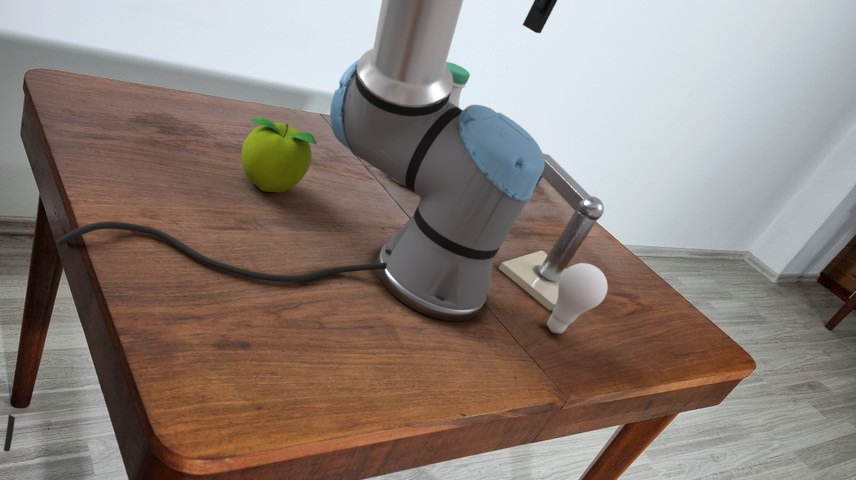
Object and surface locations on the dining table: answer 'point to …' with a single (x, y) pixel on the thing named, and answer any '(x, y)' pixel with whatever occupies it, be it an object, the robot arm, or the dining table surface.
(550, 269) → the spout
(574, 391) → the dining table surface
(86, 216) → the dining table surface
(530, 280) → the faucet stand
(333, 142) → the dining table surface
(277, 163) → the fruit
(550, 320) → the lightbulb
